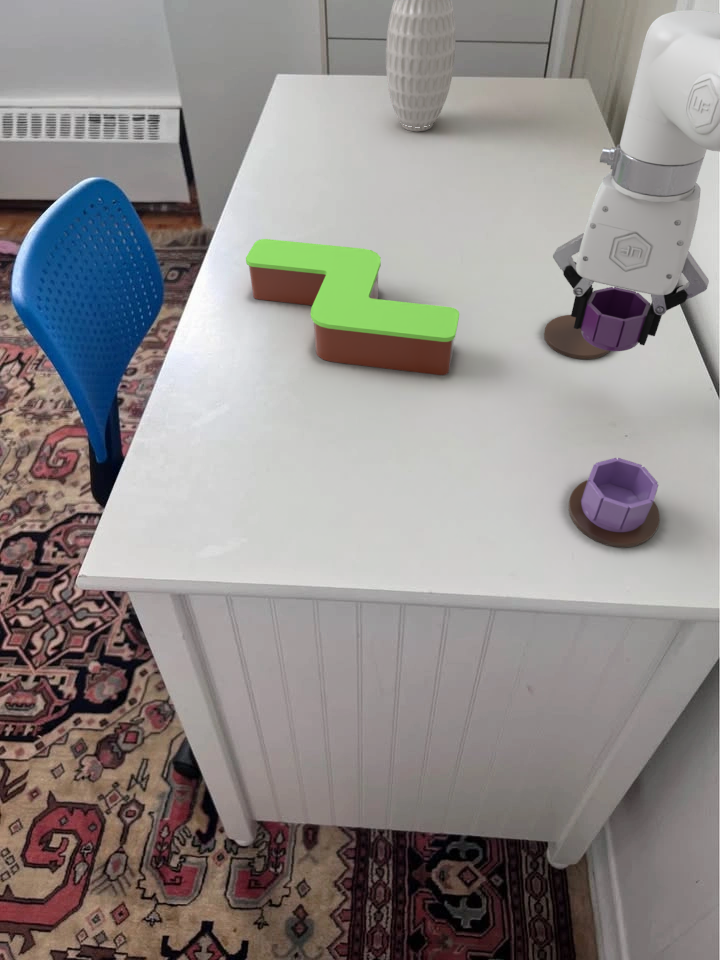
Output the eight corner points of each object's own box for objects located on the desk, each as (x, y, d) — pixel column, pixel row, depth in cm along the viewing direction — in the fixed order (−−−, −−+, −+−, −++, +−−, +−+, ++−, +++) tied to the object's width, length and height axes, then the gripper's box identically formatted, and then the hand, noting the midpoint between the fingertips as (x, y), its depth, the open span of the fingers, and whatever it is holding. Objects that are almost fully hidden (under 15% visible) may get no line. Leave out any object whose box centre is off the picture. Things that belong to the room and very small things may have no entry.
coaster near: (665, 497, 75) (667, 493, 75) (648, 559, 70) (649, 556, 70) (581, 470, 78) (582, 466, 78) (558, 528, 73) (559, 524, 72)
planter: (465, 296, 101) (470, 259, 97) (450, 377, 89) (454, 339, 85) (262, 275, 106) (257, 238, 101) (220, 349, 93) (213, 311, 89)
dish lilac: (651, 497, 75) (662, 471, 72) (637, 541, 71) (649, 515, 68) (589, 477, 77) (598, 451, 74) (574, 519, 73) (582, 493, 70)
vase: (381, 137, 138) (383, -40, 118) (388, 111, 147) (391, -58, 126) (447, 140, 137) (461, -38, 116) (450, 114, 146) (464, -56, 125)
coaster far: (620, 328, 96) (622, 324, 95) (604, 366, 90) (605, 363, 90) (554, 311, 99) (555, 308, 98) (535, 347, 93) (536, 344, 93)
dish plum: (645, 326, 81) (654, 295, 78) (633, 357, 77) (642, 326, 75) (588, 313, 83) (596, 282, 81) (574, 342, 79) (581, 311, 77)
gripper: (554, 169, 68) (525, 329, 81) (750, 203, 62) (686, 369, 75) (575, 140, 72) (545, 296, 85) (759, 169, 67) (697, 331, 80)
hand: (611, 329), depth 80 cm, fingers closed on dish plum, 6 cm apart
